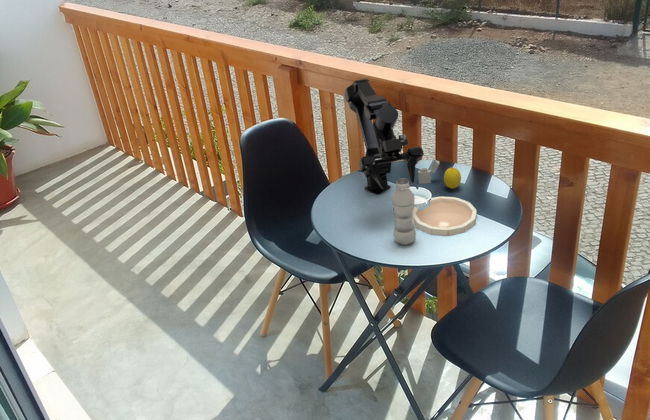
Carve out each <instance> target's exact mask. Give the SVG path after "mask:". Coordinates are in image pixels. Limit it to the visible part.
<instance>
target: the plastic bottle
mask: <svg viewBox="0 0 650 420" xmlns="http://www.w3.org/2000/svg"><path fill="white" fill-rule="evenodd" d="M410 187H411V186H410V181H409V179H408V178H399V179H397V180H396V182H395V188H396V189H395V191H394V192H393V193H392V196H391V199H392V206H393V212H394V227H393V228H394V229H393V236H394V241H396V243H397V244H399V245H404V246H407V245H410V244H412V243H413V242H415V240H416V235H417V232H416V226H415V224H414V220H413V209H414V206H415V201H416V199H415V198H416V197H415V195H414V193H413V191H412V190H411V189H410Z"/></svg>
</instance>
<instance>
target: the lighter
mask: <svg viewBox="0 0 650 420" xmlns="http://www.w3.org/2000/svg"><path fill="white" fill-rule="evenodd" d="M440 164H441V163H440V160H437V159H435V161H434V162H433V164H432V166H431V168H430V169H428V167H422V168H421V169H419V170H418V171H417V175H418V177H417V178H418V184H422V185H423V184H432V178H431V175H432V174H435V173H436V171H437V170H438V168H439V166H440Z"/></svg>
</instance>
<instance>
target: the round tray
mask: <svg viewBox="0 0 650 420" xmlns="http://www.w3.org/2000/svg"><path fill="white" fill-rule="evenodd" d="M477 212H478V211H477V209H476V208H475V207H474V205H473V204H472V203H471V202H470V201H468V200H464V199H462V198H459V197H455V196H443V195H442V196H435V197H431V200H430V206H428V207H427V208H425V209H423V210H420V211H418V207H417V208H416V207H414V209H413V220H414V226H415V228H417V229H418V230H420V231H422V232H425V233H427V234H429V235H433V236H437V235H438V236H446V237H447V236H454V235H459V234H462V233H465V232H467V231H468V230H470V229H471V228H472V227H474V226H475V225H476V220H477Z"/></svg>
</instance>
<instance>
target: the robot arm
mask: <svg viewBox="0 0 650 420" xmlns="http://www.w3.org/2000/svg"><path fill="white" fill-rule="evenodd" d="M344 98H345V102H346V103H348V106H349V107H348V108H349V109H350V110H351V111H352V112H353V113H355V115H356V118H357V121H358V125H359V129H360V133H361V136H362V140H363V143H364V147H365V151H366V152H365V155H364V156H362V157H361V158H360V159H359V163H358V164H359V165H358V166H359V167H358V168H359V171H360V172H361V173H362V174H363V175H364V176H365V178H366V182H367V186H365V187H364V190H366V191H367V192H370V193H372V194H375V195H377V196H378V195H380V194H382V193H384V192H385V191H387V190H388V189H391V185H389V184H388V178H387V177H388V176H387V175H388V174H391V171H392V163H395V162H398V161H404V160H406V162H407V165H406V166H407V169H408V173H409V178H410V182H411V184H414V183H415V175H416V174H415V172H416V165H418V163H419V162H420V161H421V160H422V158H423V157H424V155H425V152H424V149H423V147H421V146H414V147H409V148H408V149H407V151H406V152H402V150H403V149H404V147H403V146H407V145H409V142H408V137H407V135H406V134H399V135H398V138H397V136H396V135H395V132H394V128H395V125H396V123H397V121H398V117H399V111H398V110H397V108H396V107H395V106H393V105H392V104H391V103H390V101H388V99H387V98H386V97H385V96H384V95H378V94H377V92H376V91H375V90H374V88H373V87H372V85H371V84H370V79H368V78H363V79H358V80H354V81H353V82H352V84H351V85H349V86H347V87H346V88H345V92H344ZM373 120H374V122H373ZM401 152H402V153H401Z"/></svg>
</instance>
